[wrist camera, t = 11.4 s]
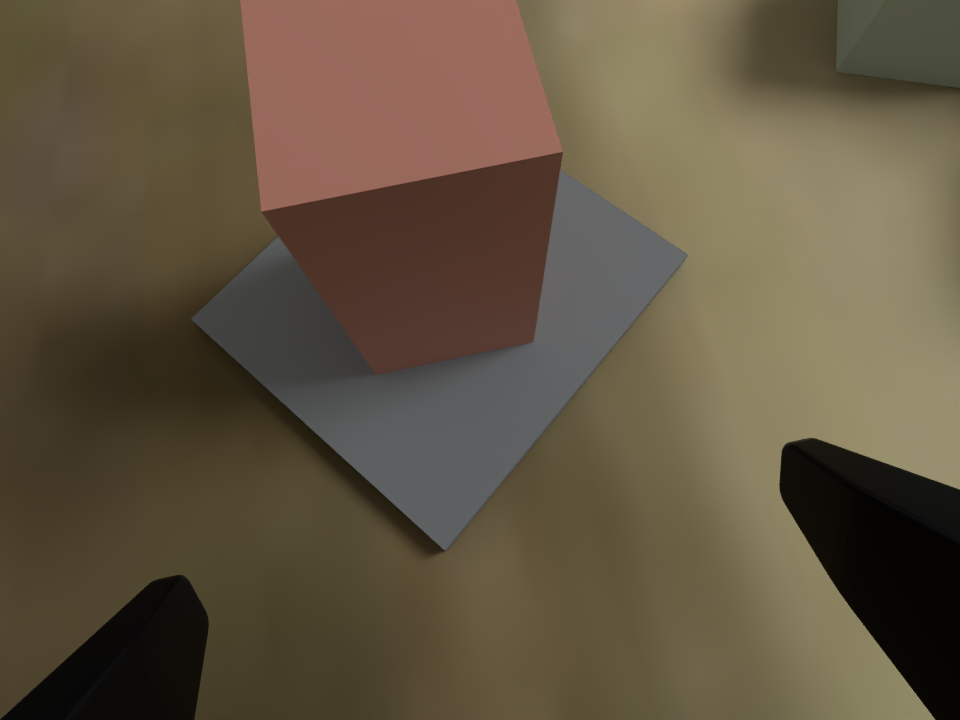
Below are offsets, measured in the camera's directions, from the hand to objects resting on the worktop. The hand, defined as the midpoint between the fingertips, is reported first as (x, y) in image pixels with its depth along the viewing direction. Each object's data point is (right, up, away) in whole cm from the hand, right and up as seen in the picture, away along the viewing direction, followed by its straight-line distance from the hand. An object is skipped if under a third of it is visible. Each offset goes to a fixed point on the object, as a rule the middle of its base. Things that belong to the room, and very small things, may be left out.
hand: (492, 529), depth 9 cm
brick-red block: (-1, +5, +10) cm, 11 cm away
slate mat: (-1, +5, +11) cm, 12 cm away
